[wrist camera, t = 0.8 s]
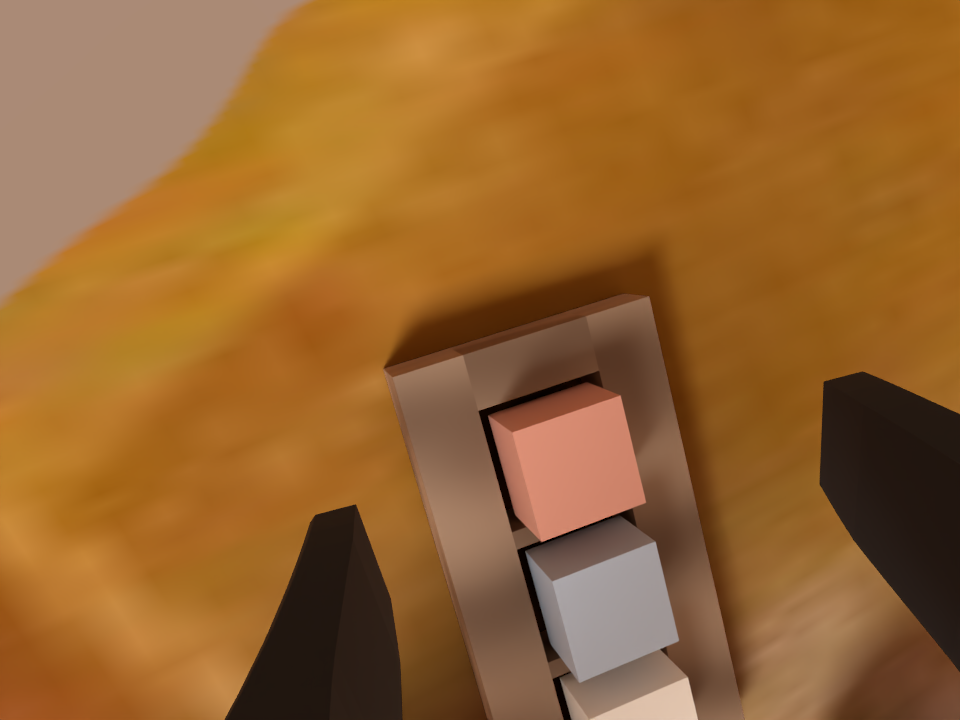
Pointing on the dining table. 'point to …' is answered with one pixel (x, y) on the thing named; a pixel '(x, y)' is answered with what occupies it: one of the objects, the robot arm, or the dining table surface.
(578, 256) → the dining table surface
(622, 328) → the walnut bezel
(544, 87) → the dining table surface
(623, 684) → the ivory key
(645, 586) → the slate key
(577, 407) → the brick key
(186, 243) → the dining table surface
